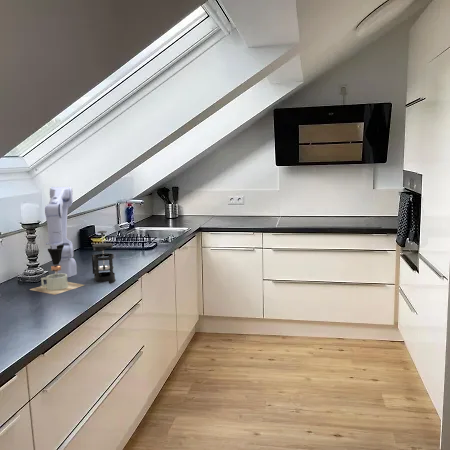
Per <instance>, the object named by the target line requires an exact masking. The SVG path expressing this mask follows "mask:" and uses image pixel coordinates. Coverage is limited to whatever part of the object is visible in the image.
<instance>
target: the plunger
mask: <svg viewBox="0 0 450 450" xmlns="http://www.w3.org/2000/svg"><path fill="white" fill-rule="evenodd" d="M59 270H61V265H51V266H50V271H53V272H54V274H55V276H54V277H51V278H60V277H63V276H58V271H59Z"/></svg>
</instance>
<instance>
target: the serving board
mask: <svg viewBox="0 0 450 450" xmlns="http://www.w3.org/2000/svg"><path fill="white" fill-rule="evenodd" d="M67 283H68V287H67V288H65V289H61V290H48V289H47V286H46V287H42V285H40V286H38V287H33V288H30V289H29V291H34V292H40V293H43V294H44V293H45V294H48V295H55V296H56V295H58V294H62V293H65V292H68V291H71V290H75V289H77V288H80V287H83V286H85V284H82V283H76V282H71V281H67Z"/></svg>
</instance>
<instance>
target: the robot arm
mask: <svg viewBox="0 0 450 450" xmlns="http://www.w3.org/2000/svg"><path fill="white" fill-rule="evenodd" d="M73 194H74V193H73V188H72V186H70V185H69V186H50V188H49V198H50V199H49V202H48V204H47V205H45V206H44V215H45V218H46V219H45V220H46V223H47V224H46V225H47V237H48V238H47V239H48V241H47V242H45V245H49V248H47V252H48V254H49V257H50V259H51V262H52V264H53V265H52V266H54V265H61V270H59V271H58V273H63V274H67V279H68V278H70V277H73V276H77V275H78V272H77V271H78V269H77V268H78V267H77V262H76V260H75V258H74V245H73V241H71V240H70V239H68V212H69V208H70V207H71V206H72V205H73Z"/></svg>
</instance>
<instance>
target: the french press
mask: <svg viewBox="0 0 450 450" xmlns="http://www.w3.org/2000/svg"><path fill="white" fill-rule="evenodd" d="M104 233H107V230H100V231H97V234H100V236H101V242H100V243H94V244H92V247H93V251H95V252H102V253H99V254H98V253H97V254H92V255H91V266H92V268H91V269H92V274H93V277H94V282H97V283H106V282H108V284H112V283H115V282H116V273H115V272H114V266H113V265H114V264H113V259H114V258H115V256H114V254H113V253H107V252H106V253H104V251H105V250H106V249H113V246H114V243H112V242H111V243H110V242H104ZM99 261H101V262H103V265H100V266H99ZM105 261H108V264H109V265H105Z"/></svg>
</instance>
